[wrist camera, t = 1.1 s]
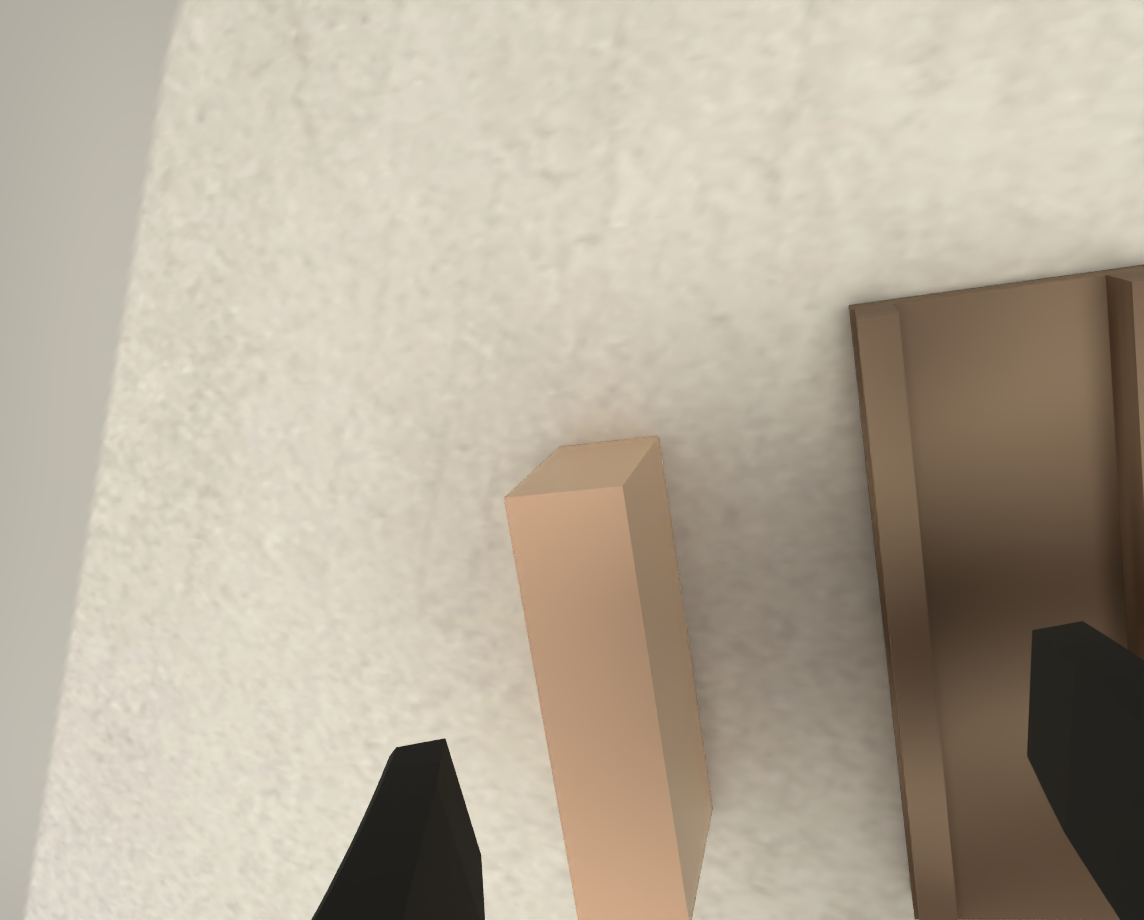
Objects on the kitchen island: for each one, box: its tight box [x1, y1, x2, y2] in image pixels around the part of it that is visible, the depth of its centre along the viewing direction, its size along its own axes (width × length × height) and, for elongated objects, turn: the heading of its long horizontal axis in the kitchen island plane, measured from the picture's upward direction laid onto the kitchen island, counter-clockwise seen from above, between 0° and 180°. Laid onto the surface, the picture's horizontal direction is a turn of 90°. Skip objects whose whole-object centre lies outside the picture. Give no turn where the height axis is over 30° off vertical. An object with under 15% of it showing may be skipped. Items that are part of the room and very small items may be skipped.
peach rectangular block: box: [504, 436, 713, 920], centre depth 25 cm, size 10×2×5 cm, turn 10°
